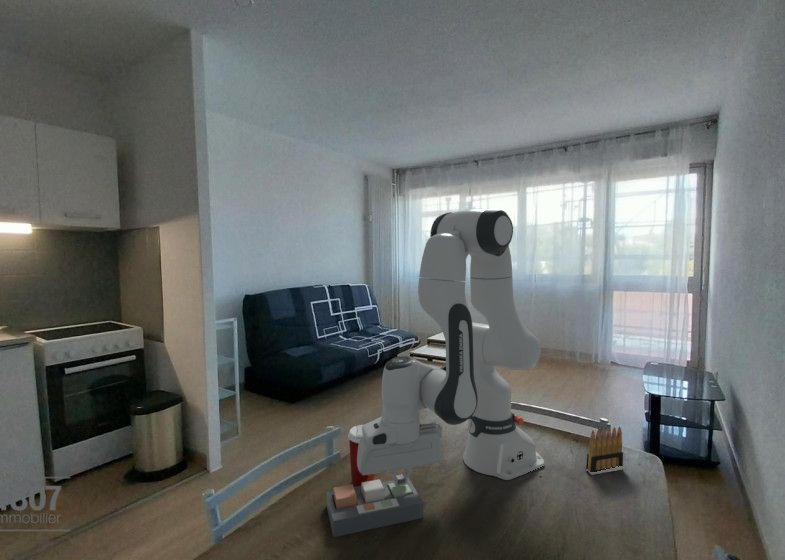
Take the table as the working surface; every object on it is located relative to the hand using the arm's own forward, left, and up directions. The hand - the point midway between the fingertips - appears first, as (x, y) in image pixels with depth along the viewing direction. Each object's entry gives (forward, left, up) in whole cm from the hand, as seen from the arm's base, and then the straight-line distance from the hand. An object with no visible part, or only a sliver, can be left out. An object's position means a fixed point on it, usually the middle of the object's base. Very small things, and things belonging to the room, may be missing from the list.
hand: (400, 484), depth 89 cm
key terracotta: (+13, +1, -1) cm, 13 cm away
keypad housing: (+7, +2, -5) cm, 8 cm away
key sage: (0, +1, -3) cm, 3 cm away
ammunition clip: (-58, +4, -5) cm, 58 cm away
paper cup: (+7, -10, -5) cm, 13 cm away
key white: (+7, +1, -2) cm, 7 cm away
